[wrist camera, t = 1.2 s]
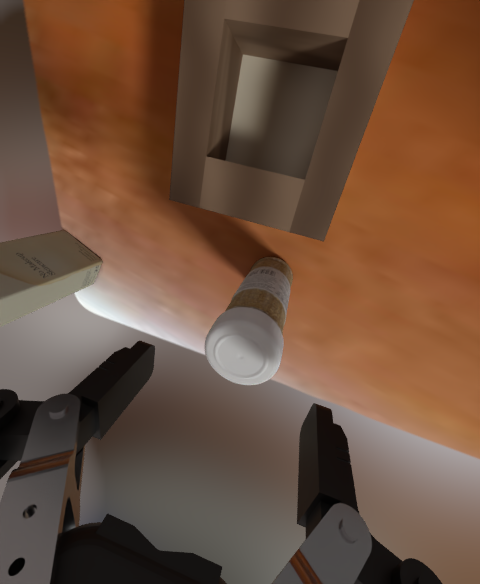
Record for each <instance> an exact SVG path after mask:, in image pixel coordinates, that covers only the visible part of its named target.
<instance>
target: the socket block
mask: <svg viewBox="0 0 480 584" xmlns="http://www.w3.org/2000/svg"><path fill="white" fill-rule="evenodd" d="M413 1H414V0H184V14H183V27H182V40H181V53H180V66H179V79H178V93H177V106H176V119H175V132H174V145H173V159H172V172H171V185H170V198H169V200H172V201H176V202H179V203H183V204H187V205H191V206H194V207H198V208H202V209H205V210H209V211H213V212H217V213H220V214H224V215H228V216H231V217H235V218H239V219H243V220H246V221H250V222H254V223H257V224H261V225H265V226H269V227H272V228H276V229H280V230H283V231H287V232H291V233H295V234H298V235H302V236H306V237H309V238H313V239H317V240H321V241H324V239H325V236H326V234H327V231H328V228H329V226H330V223H331V220H332V218H333V215H334V212H335V210H336V207H337V204H338V202H339V199H340V196H341V194H342V191H343V188H344V186H345V183H346V180H347V178H348V175H349V172H350V169H351V167H352V164H353V161H354V159H355V156H356V153H357V151H358V148H359V145H360V143H361V140H362V137H363V135H364V132H365V129H366V127H367V124H368V121H369V119H370V116H371V113H372V111H373V108H374V105H375V103H376V100H377V97H378V95H379V92H380V89H381V86H382V84H383V81H384V78H385V76H386V73H387V70H388V68H389V65H390V62H391V60H392V57H393V54H394V52H395V49H396V46H397V44H398V41H399V38H400V36H401V33H402V30H403V28H404V25H405V22H406V20H407V17H408V14H409V12H410V9H411V6H412V3H413Z"/></svg>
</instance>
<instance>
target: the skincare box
mask: <svg viewBox="0 0 480 584" xmlns="http://www.w3.org/2000/svg"><path fill="white" fill-rule="evenodd" d="M101 264H102V260H101V259H100V258H99V257H97V256H96V255H95V254H94V253H92V252H91V251H90V250H89V249H87V248H86V247H85V246H84V245H83V244H81V243H80V242H79V241H77V240H76V239H75V238H74V237H73V236H71V235H70V234H69V233H67V232H66V231H65V230H61V231H56V232H52V233H47V234H41V235H36V236H32V237H26V238H21V239H16V240H12V241H6V242H2V243H0V327H1V326H4V325H6V324H8V323H10V322H12V321H14V320H16V319H19V318H21V317H23V316H25V315H27V314H29V313H32V312H34V311H36V310H38V309H40V308H42V307H44V306H47V305H49V304H51V303H53V302H55V301H57V300H60V299H62V298H64V297H66V296H68V295H70V294H72V293H75V292H77V291H79V290H81V289H83V288H86V287H88V286H90V285H92V284H93V283H94V281H95V279H96V277H97V274H98V272H99V270H100V267H101Z"/></svg>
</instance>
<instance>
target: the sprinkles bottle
mask: <svg viewBox="0 0 480 584" xmlns="http://www.w3.org/2000/svg"><path fill="white" fill-rule="evenodd" d="M292 280H293V274H292V271H291V268H290V267H289V266H288V264H287V263H286V262H284V261H283V260H281V259H279V258H276V257H265V258H262V259H260V260H258V261H257V262H256V263H254V265H253V266H252V268H251V270H250V273H249V274H248V275H247V276H246V278H245V279H244V281H243V282H242V284H241V285H240V287H239V288H238V290H237V291H236V293H235V294H234V296H233V298H232V301H231V303H230V304H229V306H228V307H227V309H226V311H225V312H224V313H222V314H221V315H220V316H219V317H218V318H217V320H216V321H215V323H214V324H213V326H212V328H211V329H210V331H209V333H208V335H207V337H206V340H205V353H206V357H207V359H208V361H209V363H210V365H211V366H212V367H213V368H214V370H215V371H216V372H217V373H218V374H220V375H221V376H222V377H224V378H226V379H227V380H229V381H232V382H234V383H237V384H243V385H254V384H260V383H263V382H265V381H267V380H269V379H270V378H271V377H272V376H273V375H274V374H275V373H276V372H277V370H278V368H279V366H280V362H281V358H282V351H283V345H284V342H283V336H282V333H283V327H284V324H285V320H286V313H287V307H288V302H289V296H290V287H291V285H292Z"/></svg>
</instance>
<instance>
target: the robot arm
mask: <svg viewBox="0 0 480 584" xmlns="http://www.w3.org/2000/svg"><path fill="white" fill-rule="evenodd" d="M154 355H155V346H153V345H151V344H148V343H145V342H142V341H138V342H137V343H136V344H135V345H134V346H133V347H132V348H131V349H129V348H126V347H125V348H123V349H121V350H119V351H116V352H114V354H112V355H111V356H110V357H109V358H108V359H107V360H106V361H104V362H103V363H102V364H101V365H100V366H99V368H96V369H95V371H93V372H92V373H91V374H90V375H89V376H87V377H86V378H85V379H84V380H83V381H82V382H81V383H80V384H79V385H78V386H76V387H75V388H74V389H73V390H72V391H71V392H69V393H68V394H60V395H56V396H54V397H51V398H49V399H48V400H46V401H23V400H18V396H17V394H16V393H15V392H14V391H12V390H7V389H1V390H0V479H1V478H2V477H3V476H4V475H5V474H6V473H7V472H8V471H9V469H10V468H11V467H12V466H13V465H14V464H15V463H16V462H17V461H18V460H19V461H21V463H20V465H19V467H18V468H17V469H14V470H13V471H12V472H11V474H10V476H9V478H8V481H7V484H6V487H5V490H4V493H3V496H2V500H1V502H0V584H226V583H225V581H224V580H223V579H222V578H221V577H220V575H221V570H222V567H221V566H219V565H217V564H215V563H213V562H211V561H208V560H206V559H204V558H202V557H200V556H198V555H196V554H194V553H184V552H169V551H160V550H158V549H156V548H155V547H154V546H153V545H152V544H151V543H150V542H149V541H148V540H147V539H146V538H145V537H144V536H143V534H142V533H141V532H140V531H139V530H138V529H136V527H135V526H133V525H131V524H129V523H127V522H124V521H122V520H120V519H118V518H116V517H114V516H112V515H109V514H107V515H106V517H105V518H104V520H103V522H102V523H100V522H97V523H89V524H85V525H81V526H79V521H80V493H81V484H82V474H83V465H84V456H85V445H86V443H87V442H88V441H89V440H90V438H91V437H92V436H93V437H95V438H98V439H100V440H101V439H102V438H103V436H104V435H105V434H106V432H107V431H108V430H109V429H110V427H111V426H112V425H113V424H114V422H115V421H116V420H117V419H118V417H119V416H120V415H121V414H122V412H123V411H124V410H125V409H126V407H127V406H128V405H129V404H130V402H131V401H132V400H133V399H134V397H135V396H136V395H137V394H138V392H139V391H140V390H141V389H142V387H143V386H144V385H145V383H146V382H147V381H148V380H149V378H150V376H151V374H152V372H153V368H154ZM298 477H299V478H298V508H297V509H298V510H297V524H299V525H301V526H303V527H306V540H305V541H304V543H303V544H302V545H301V546H300V548H299V549H298V550H297V551H296V553H295V554H294V555H293V557H292V558H291V559H290V561H289V562H288V563H287V564H286V566H285V567H284V568H283V570H282V571H281V572H280V574H279V575H278V576H277V577H276V579H275V580H274V581H273V583H272V584H442V583H441V581H440V580H439V579H438V577H437V576H436V575H435V574H434V573H433V571H432V570H430V568H428V567H427V566H426V565H425V564H423V563H422V562H420V561H418V560H416V559H412V558H409V559H406V560H404V561H402V560H400V559H399V558H398V557H396V556H395V555H394V554H393V553H392V552H390V551H389V550H388V549H387V548H385V547H384V546H383V545H382V544H380V543H379V542H378V541H377V540H376V539H375V538H374V537H373V536H372V535H371V533H370V532H369V529H368V527H367V525H366V523H365V521H364V520H363V518H362V517H361V516H360V514H359V511H358V507H357V501H356V495H355V488H354V481H353V475H352V468H351V465H350V455H349V448H348V442H347V438H346V436H345V434H344V432H343V430H342V428H341V426H339V425H337V424H334V423H333V417H332V411H331V409H329V408H326V407H323V406H321V405H318V404H315V403H314V404H313V405H312V407H311V409H310V411H309V413H308V415H307V417H306V418H305V420H304V422H303V425H302V428H301V432H300V443H299V476H298Z"/></svg>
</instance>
